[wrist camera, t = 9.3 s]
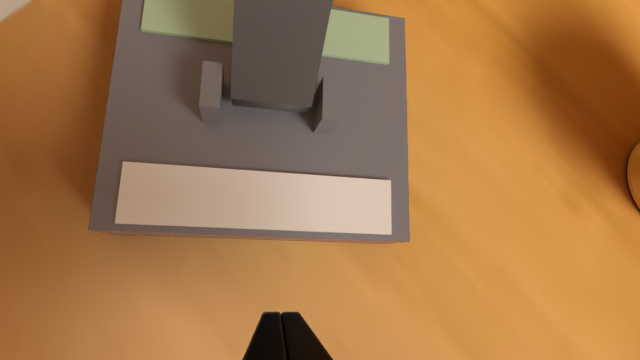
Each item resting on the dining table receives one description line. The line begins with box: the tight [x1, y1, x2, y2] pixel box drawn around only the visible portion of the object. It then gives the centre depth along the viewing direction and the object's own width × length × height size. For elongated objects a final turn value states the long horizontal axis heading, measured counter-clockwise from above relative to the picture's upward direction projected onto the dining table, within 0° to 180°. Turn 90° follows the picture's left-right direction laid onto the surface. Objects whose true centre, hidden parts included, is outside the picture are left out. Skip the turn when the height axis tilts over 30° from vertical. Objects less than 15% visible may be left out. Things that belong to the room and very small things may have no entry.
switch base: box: [88, 0, 410, 244], centre depth 18 cm, size 12×14×5 cm
